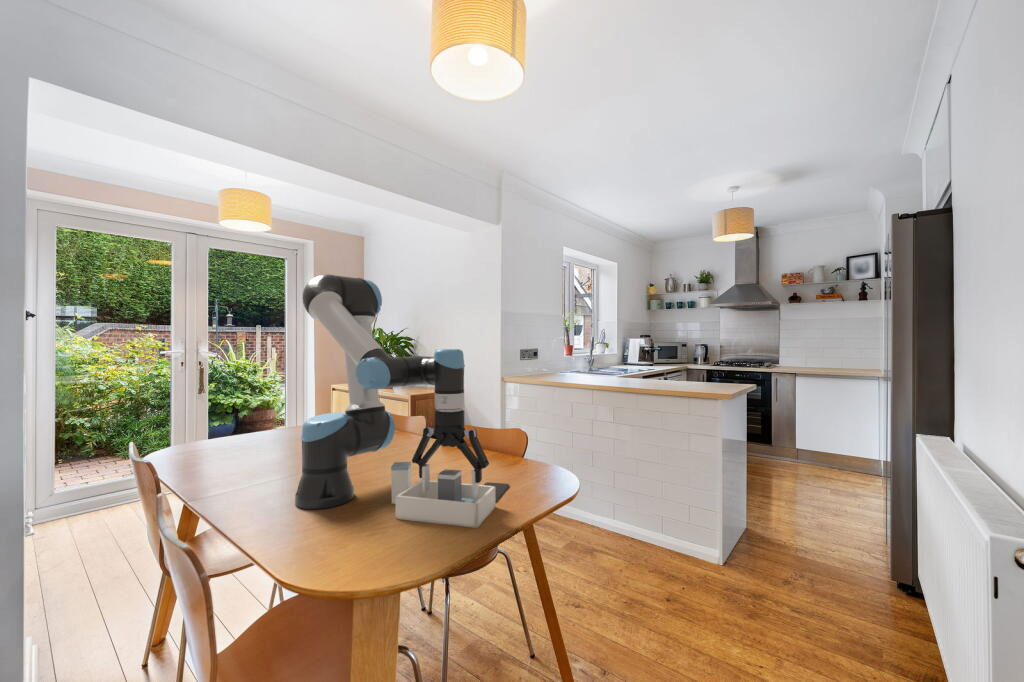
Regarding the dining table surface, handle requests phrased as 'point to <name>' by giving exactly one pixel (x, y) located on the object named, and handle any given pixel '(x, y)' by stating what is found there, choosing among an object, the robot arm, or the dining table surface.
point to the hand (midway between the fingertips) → (450, 493)
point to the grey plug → (450, 485)
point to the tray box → (445, 505)
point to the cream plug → (400, 478)
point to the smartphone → (498, 489)
